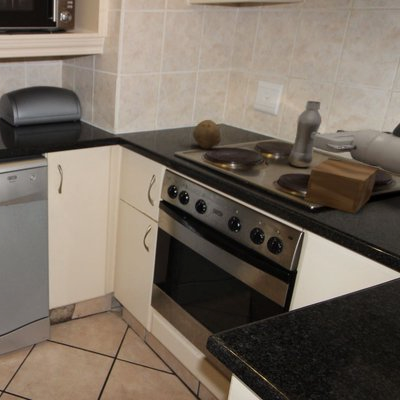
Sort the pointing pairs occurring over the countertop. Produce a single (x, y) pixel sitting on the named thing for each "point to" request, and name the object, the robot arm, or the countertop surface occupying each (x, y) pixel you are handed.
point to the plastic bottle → (305, 135)
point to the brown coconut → (207, 134)
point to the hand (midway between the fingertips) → (325, 133)
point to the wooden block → (341, 184)
